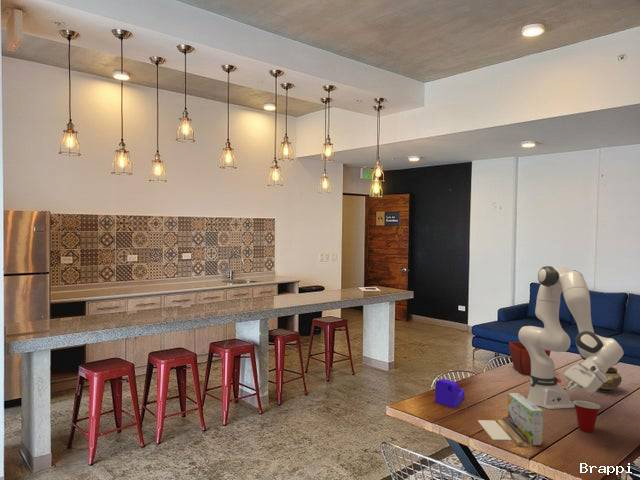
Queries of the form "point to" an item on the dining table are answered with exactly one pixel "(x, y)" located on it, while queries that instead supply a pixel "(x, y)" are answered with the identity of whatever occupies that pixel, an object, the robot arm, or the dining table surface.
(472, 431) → the dining table surface
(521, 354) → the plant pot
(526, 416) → the snack box
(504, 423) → the tear bar
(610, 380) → the ceramic bowl
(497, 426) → the mat
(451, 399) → the bracket
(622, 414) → the dining table surface
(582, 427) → the plastic cup
